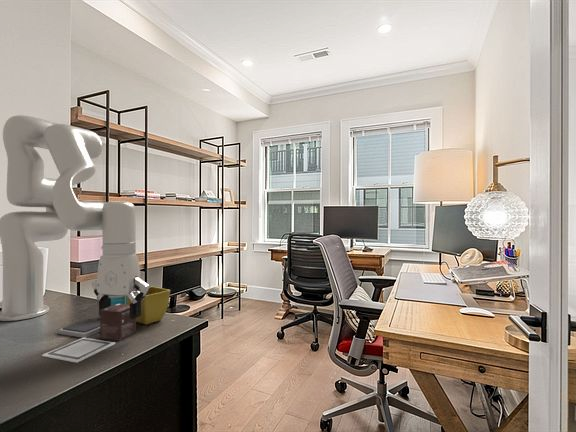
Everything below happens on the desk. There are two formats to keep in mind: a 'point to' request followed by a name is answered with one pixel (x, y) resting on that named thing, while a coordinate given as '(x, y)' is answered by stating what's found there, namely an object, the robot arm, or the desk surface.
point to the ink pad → (82, 328)
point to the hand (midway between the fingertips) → (120, 315)
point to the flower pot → (153, 305)
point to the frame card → (79, 350)
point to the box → (116, 322)
